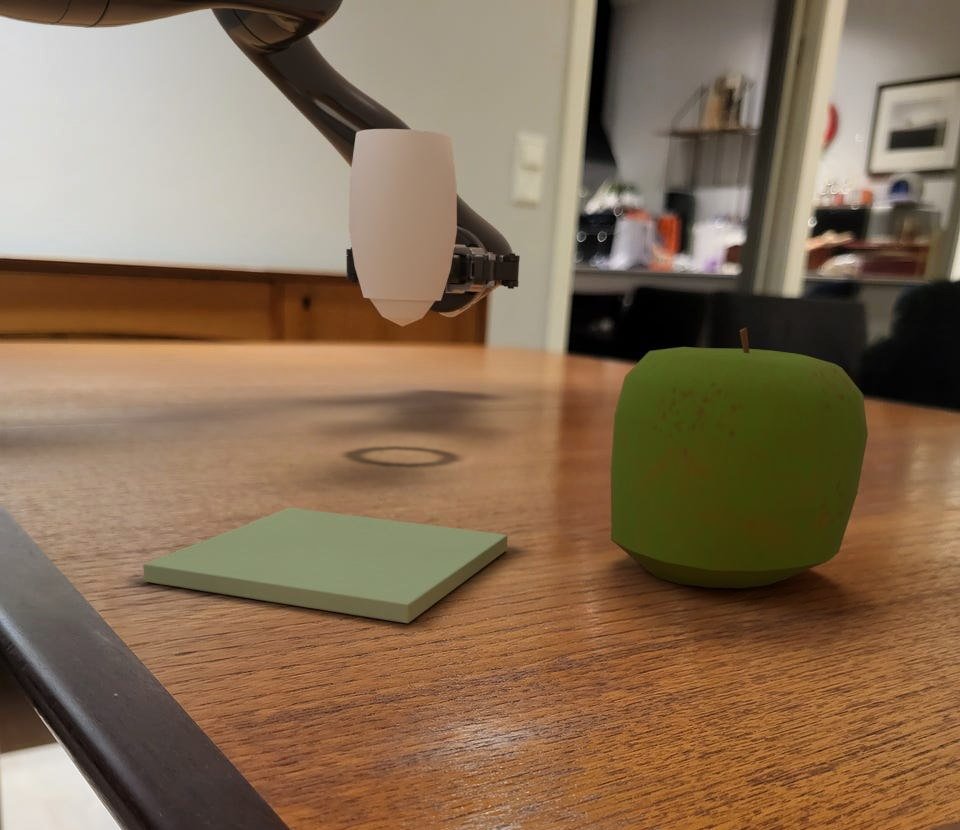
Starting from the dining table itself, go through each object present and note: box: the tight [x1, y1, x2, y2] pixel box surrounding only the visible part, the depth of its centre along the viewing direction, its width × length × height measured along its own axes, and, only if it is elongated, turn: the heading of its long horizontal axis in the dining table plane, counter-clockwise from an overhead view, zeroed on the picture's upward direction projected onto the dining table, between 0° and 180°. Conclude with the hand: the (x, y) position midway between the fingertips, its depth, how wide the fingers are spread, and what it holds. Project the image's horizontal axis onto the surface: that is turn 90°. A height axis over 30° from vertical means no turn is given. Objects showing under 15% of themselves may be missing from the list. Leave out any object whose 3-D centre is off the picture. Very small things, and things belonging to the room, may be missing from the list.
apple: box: [610, 327, 869, 589], centre depth 45 cm, size 11×11×11 cm
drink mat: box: [142, 507, 509, 624], centre depth 45 cm, size 12×12×1 cm
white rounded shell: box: [348, 129, 458, 327], centre depth 68 cm, size 7×7×21 cm
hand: (424, 267), depth 77 cm, fingers open, 8 cm apart
